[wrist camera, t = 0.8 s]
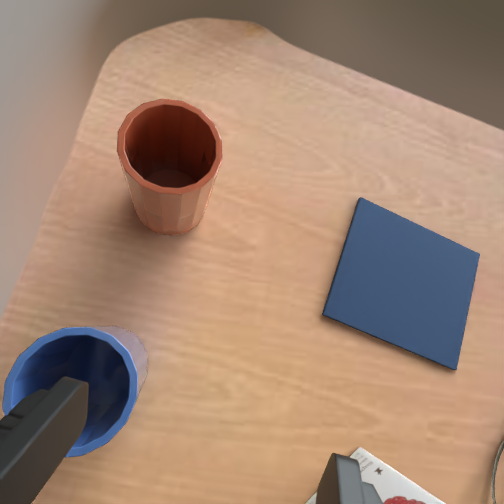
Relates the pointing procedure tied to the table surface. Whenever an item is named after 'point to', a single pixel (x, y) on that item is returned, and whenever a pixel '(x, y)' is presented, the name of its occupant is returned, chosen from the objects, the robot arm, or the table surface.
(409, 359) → the table surface
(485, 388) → the table surface
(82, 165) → the table surface
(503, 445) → the binoculars
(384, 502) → the rectangular carton
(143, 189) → the terracotta tumbler
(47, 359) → the blue tumbler
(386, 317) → the blue mat
